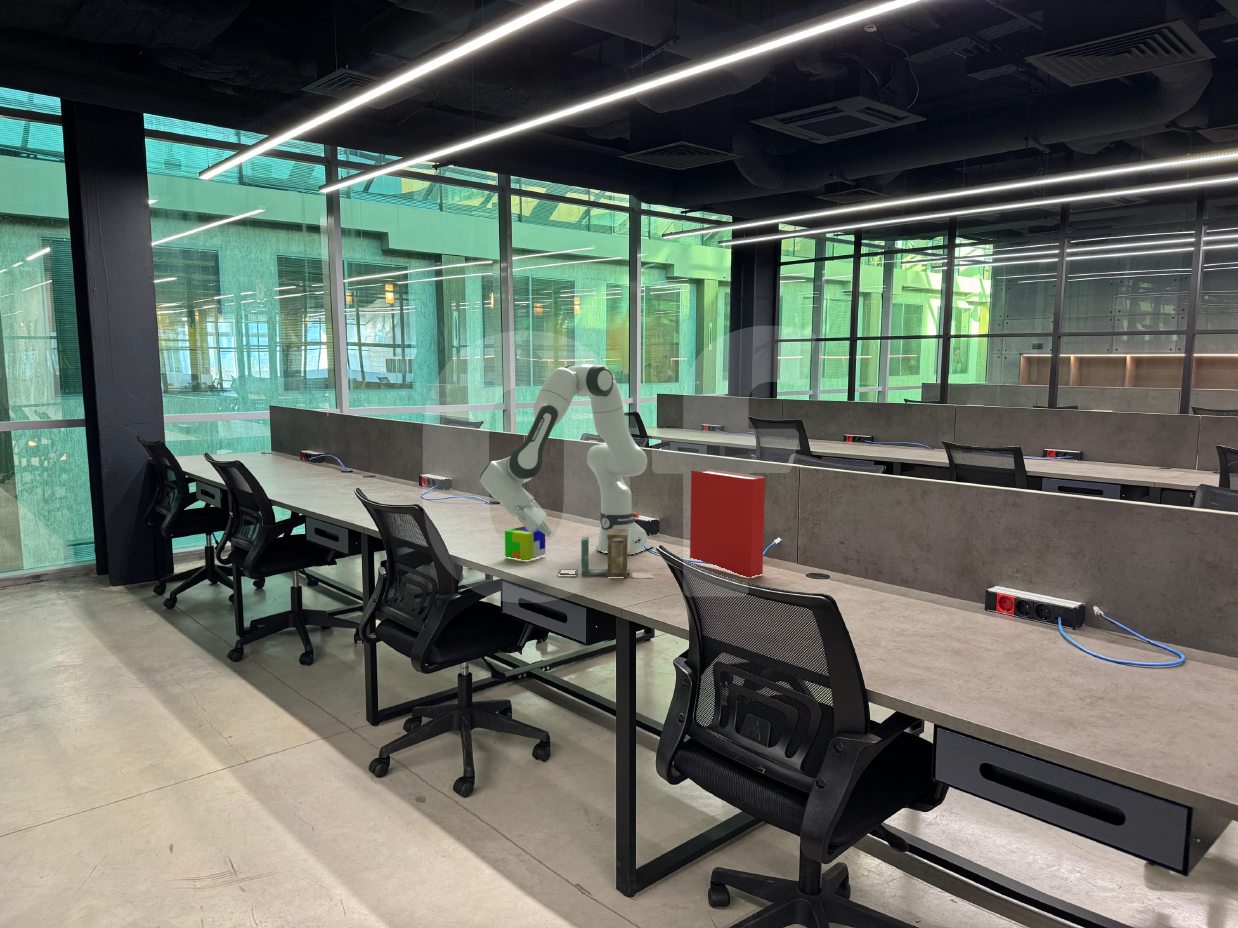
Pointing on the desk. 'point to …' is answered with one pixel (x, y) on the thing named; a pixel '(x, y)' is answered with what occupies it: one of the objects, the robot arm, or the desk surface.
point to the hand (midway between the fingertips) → (550, 534)
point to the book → (728, 520)
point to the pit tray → (568, 573)
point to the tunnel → (623, 535)
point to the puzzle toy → (524, 543)
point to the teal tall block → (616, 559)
